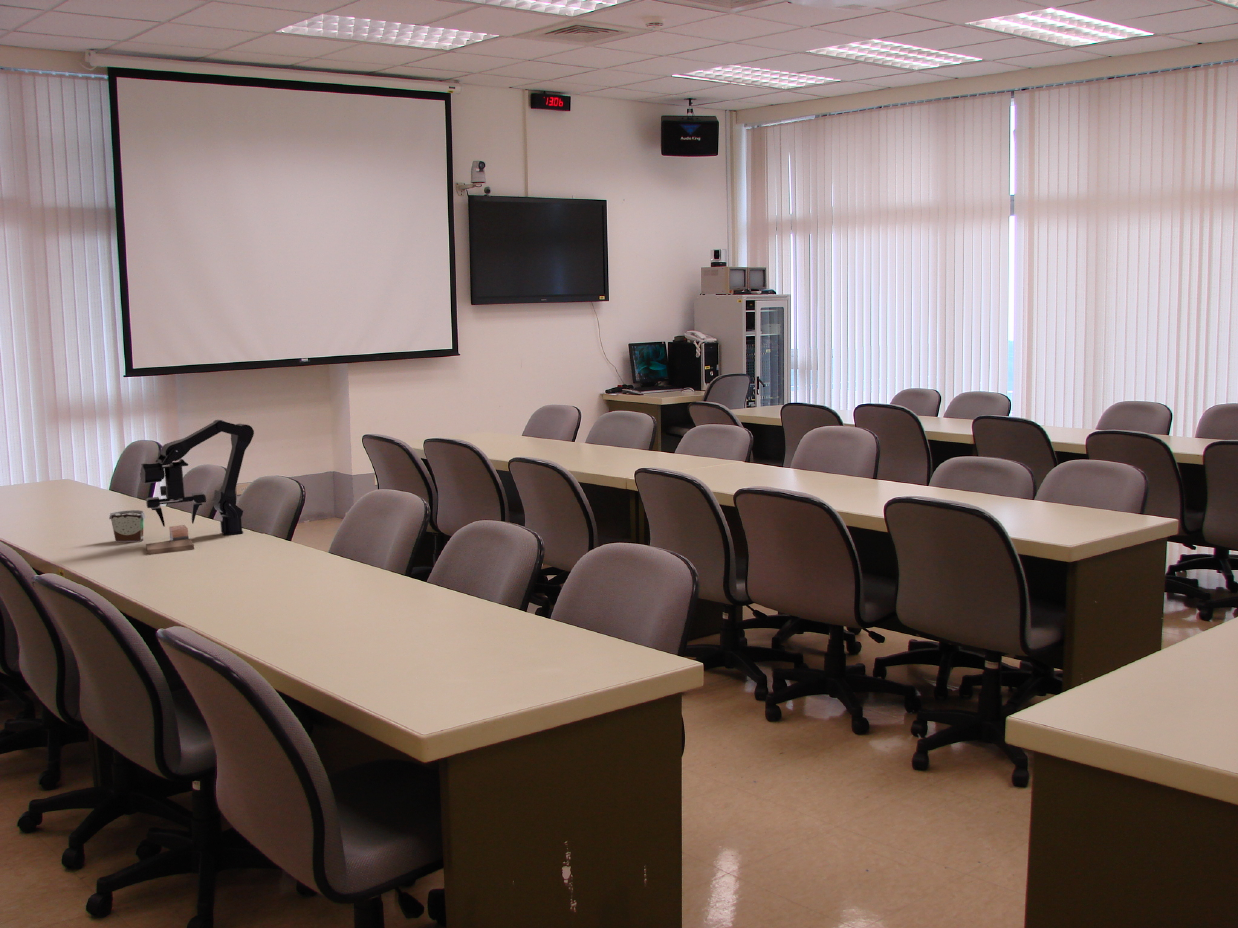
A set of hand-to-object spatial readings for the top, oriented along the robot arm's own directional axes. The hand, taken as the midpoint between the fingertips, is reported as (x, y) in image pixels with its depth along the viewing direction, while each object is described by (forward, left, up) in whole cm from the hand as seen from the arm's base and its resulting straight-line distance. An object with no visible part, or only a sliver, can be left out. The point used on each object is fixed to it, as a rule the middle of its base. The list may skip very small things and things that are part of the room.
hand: (178, 524), depth 375 cm
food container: (+14, -13, -6) cm, 20 cm away
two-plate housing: (0, 0, -6) cm, 6 cm away
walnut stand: (+4, +12, -6) cm, 13 cm away
